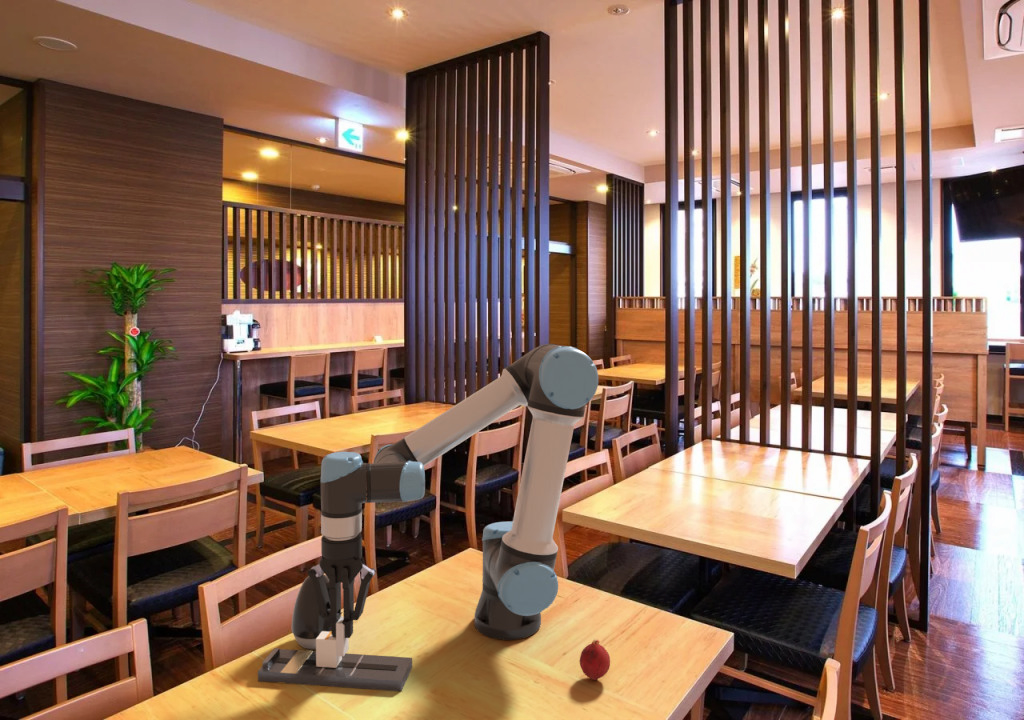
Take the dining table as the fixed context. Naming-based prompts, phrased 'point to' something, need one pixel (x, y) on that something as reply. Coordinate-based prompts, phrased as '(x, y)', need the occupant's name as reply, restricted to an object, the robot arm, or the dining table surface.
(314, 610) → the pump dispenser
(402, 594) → the dining table surface
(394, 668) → the console
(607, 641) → the dining table surface
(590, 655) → the onion
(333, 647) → the fader knob
